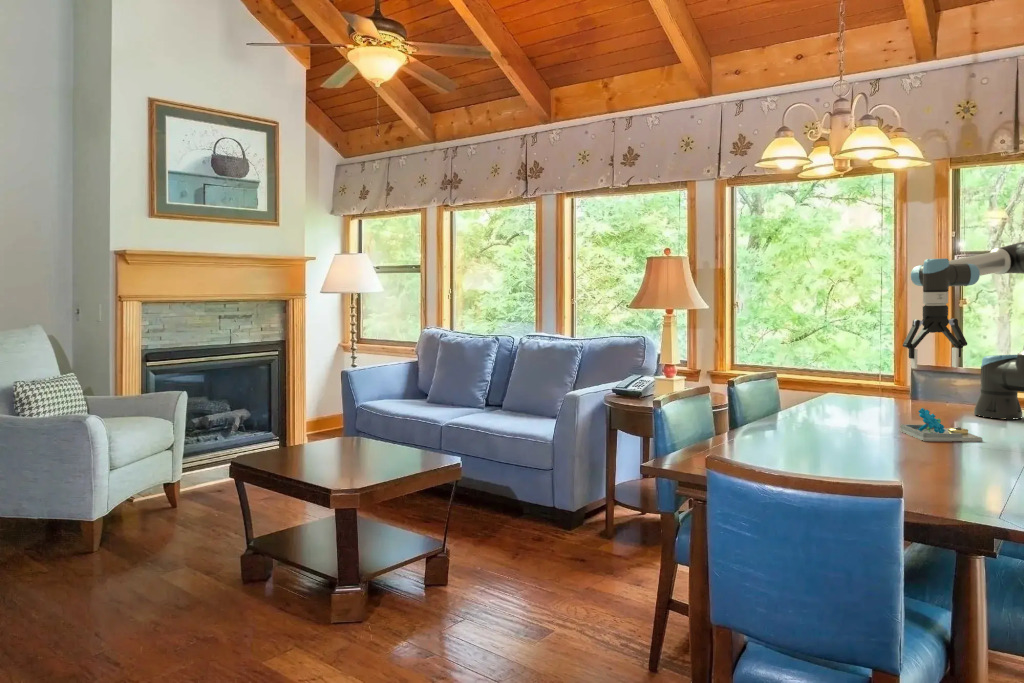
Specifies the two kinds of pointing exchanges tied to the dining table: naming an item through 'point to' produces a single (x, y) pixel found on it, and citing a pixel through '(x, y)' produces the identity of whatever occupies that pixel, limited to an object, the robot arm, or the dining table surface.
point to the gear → (930, 421)
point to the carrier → (939, 434)
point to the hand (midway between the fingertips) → (934, 367)
